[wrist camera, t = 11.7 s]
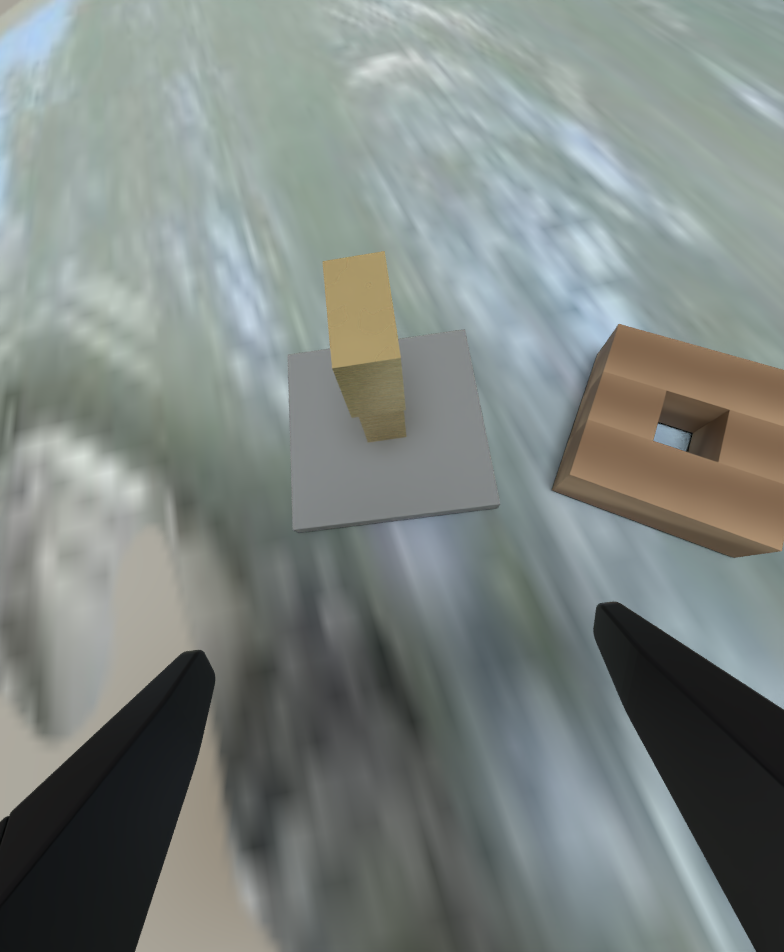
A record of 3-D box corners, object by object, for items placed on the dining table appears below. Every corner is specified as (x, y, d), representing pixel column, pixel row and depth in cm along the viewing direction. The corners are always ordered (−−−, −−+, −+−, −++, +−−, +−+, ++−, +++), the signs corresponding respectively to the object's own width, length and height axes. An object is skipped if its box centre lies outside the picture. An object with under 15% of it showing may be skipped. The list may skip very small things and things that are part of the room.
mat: (497, 508, 23) (500, 504, 22) (297, 532, 24) (292, 529, 23) (463, 338, 27) (464, 329, 26) (292, 363, 27) (287, 354, 26)
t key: (410, 456, 23) (400, 357, 14) (369, 462, 24) (331, 368, 14) (399, 384, 25) (384, 251, 16) (361, 390, 25) (322, 261, 16)
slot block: (733, 557, 21) (781, 550, 18) (551, 490, 23) (569, 474, 20) (763, 404, 24) (810, 377, 21) (597, 354, 26) (618, 323, 23)
